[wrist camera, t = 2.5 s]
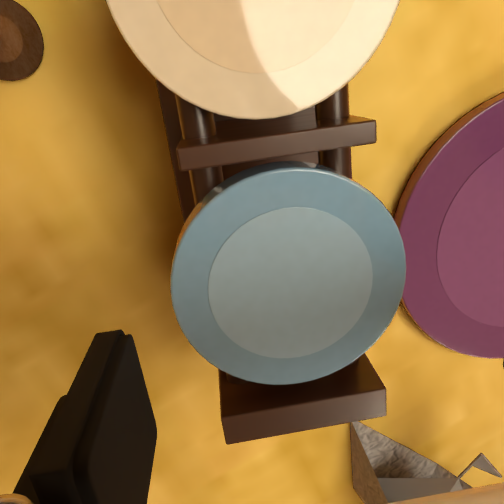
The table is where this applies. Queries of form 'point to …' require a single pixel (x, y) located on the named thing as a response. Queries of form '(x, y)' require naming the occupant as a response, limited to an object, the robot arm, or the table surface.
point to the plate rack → (230, 163)
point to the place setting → (18, 42)
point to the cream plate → (253, 49)
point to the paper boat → (399, 469)
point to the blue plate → (287, 273)
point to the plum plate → (458, 235)
